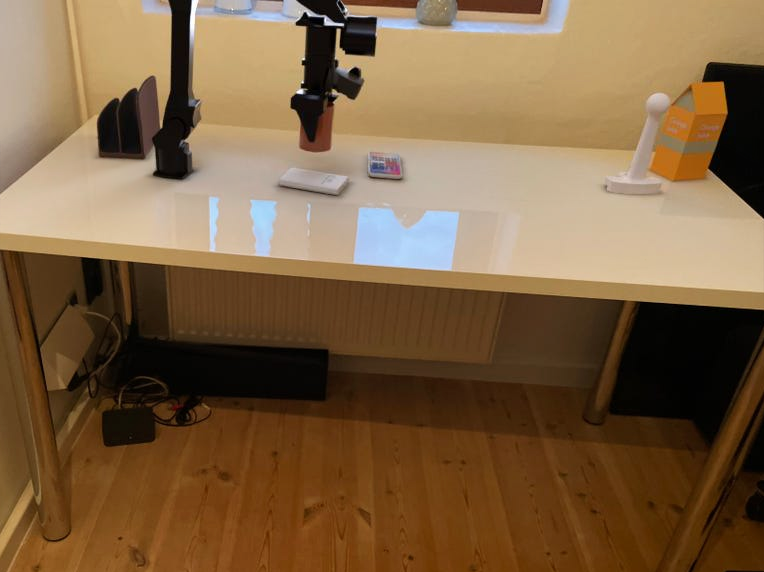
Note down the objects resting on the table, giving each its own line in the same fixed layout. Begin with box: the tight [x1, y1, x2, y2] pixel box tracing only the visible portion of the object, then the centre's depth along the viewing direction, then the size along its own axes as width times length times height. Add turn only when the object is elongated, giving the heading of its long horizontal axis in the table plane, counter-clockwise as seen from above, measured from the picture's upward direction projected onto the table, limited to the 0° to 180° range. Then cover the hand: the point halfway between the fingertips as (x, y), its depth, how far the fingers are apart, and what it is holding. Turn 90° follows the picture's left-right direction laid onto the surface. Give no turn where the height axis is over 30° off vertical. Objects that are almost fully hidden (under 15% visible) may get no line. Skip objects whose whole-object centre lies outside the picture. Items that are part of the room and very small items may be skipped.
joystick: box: [603, 92, 671, 195], centre depth 152 cm, size 11×8×20 cm
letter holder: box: [96, 75, 162, 160], centre depth 163 cm, size 10×20×14 cm, turn 179°
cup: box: [298, 101, 336, 153], centre depth 144 cm, size 6×6×8 cm
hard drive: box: [278, 167, 350, 196], centre depth 150 cm, size 2×8×12 cm
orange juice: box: [649, 81, 729, 182], centre depth 161 cm, size 8×9×20 cm
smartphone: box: [367, 151, 403, 180], centre depth 161 cm, size 7×1×15 cm
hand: (315, 137), depth 145 cm, fingers closed on cup, 6 cm apart
